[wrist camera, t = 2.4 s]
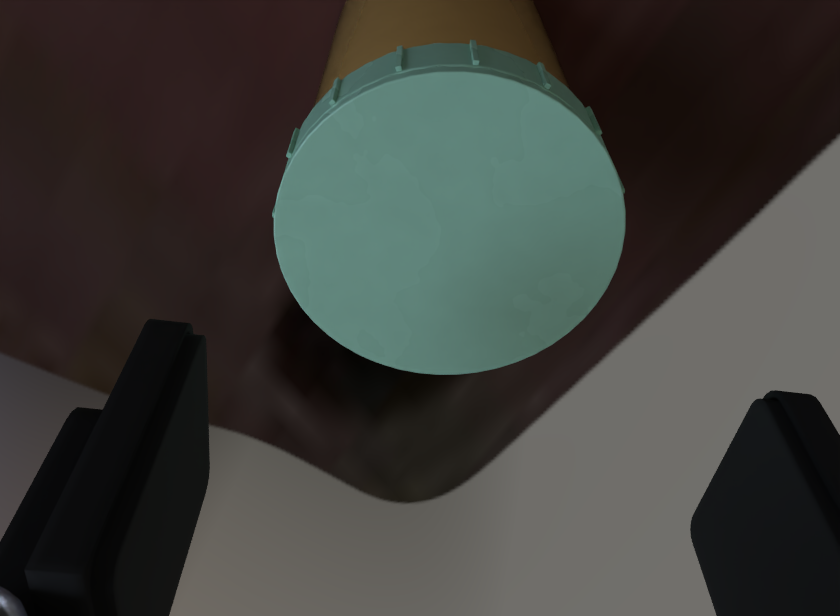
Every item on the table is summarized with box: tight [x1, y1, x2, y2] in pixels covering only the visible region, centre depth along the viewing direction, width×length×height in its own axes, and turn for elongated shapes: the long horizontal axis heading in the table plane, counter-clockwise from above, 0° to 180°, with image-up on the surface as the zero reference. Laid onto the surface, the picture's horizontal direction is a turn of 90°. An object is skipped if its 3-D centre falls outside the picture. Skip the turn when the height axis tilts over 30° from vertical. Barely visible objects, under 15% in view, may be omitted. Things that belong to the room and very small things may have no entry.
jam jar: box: [313, 0, 571, 108], centre depth 20 cm, size 6×6×10 cm
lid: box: [272, 40, 626, 375], centre depth 16 cm, size 7×7×2 cm
